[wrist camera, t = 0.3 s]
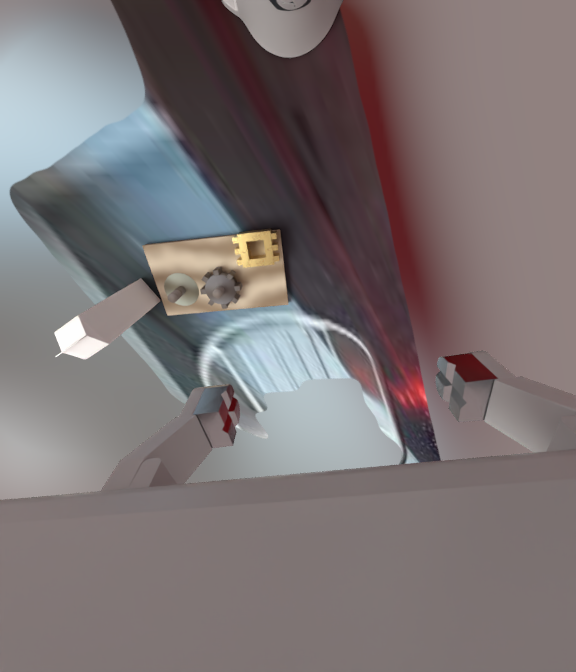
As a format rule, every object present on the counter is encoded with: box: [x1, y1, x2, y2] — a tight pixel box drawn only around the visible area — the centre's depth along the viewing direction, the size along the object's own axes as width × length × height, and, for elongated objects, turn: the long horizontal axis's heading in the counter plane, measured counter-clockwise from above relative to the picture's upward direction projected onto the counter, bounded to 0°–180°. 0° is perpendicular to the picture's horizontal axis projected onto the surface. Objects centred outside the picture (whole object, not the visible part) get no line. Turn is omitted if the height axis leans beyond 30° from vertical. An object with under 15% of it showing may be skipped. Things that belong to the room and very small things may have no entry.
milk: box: [54, 279, 161, 359], centre depth 49 cm, size 6×6×22 cm
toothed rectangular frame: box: [232, 229, 280, 268], centre depth 50 cm, size 6×8×3 cm
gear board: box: [143, 229, 288, 315], centre depth 53 cm, size 15×27×6 cm, turn 96°
